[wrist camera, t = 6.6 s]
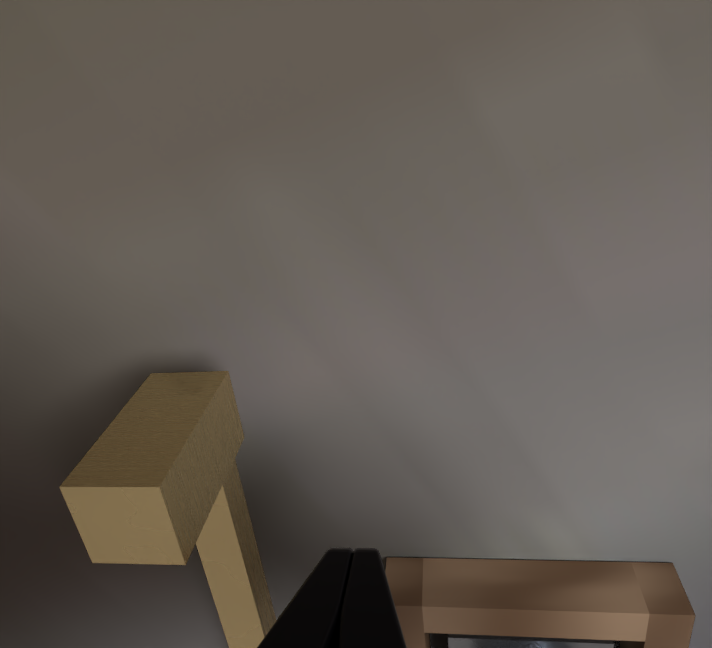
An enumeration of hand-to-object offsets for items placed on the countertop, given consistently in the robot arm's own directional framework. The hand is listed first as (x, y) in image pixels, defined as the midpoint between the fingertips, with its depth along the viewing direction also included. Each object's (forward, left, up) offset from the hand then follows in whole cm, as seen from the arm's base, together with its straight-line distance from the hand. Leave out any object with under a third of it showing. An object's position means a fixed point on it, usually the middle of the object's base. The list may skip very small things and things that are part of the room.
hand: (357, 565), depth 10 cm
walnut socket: (-4, +12, -7) cm, 14 cm away
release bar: (+5, +7, -5) cm, 10 cm away
